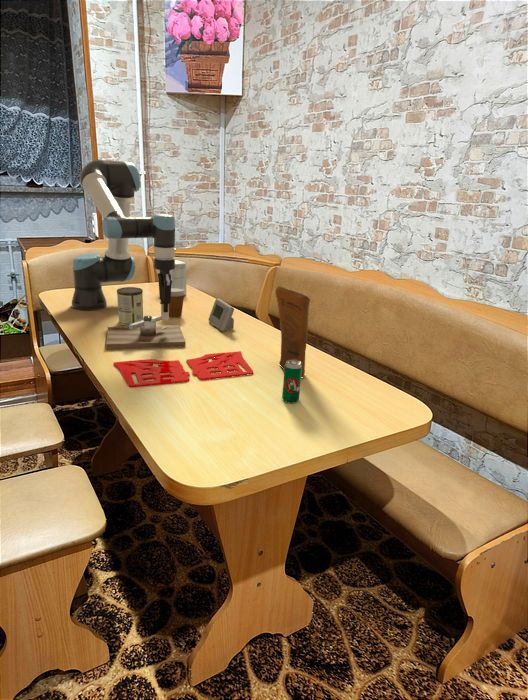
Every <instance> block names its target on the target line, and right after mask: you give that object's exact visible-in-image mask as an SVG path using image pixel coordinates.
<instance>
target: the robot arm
mask: <svg viewBox="0 0 528 700" xmlns="http://www.w3.org/2000/svg"><path fill="white" fill-rule="evenodd" d="M79 179H80V180H79V182H80V185H81V187H82V189H83V190H84V192H85V193H86V194H88V195H89V196H90V198H91V199H92V201H93V203H94V205H95V206H96V208H97V210H98V212H99V214H100V216H101V217H102V221H101V222H102V224H101V227H102V228H101V230H102V232H103V236H104V237H106V238H107V239H108V242H107V243H108V247H107V249H106V250H105V251H104V256H101V255H100V254H99V253H84V254H81V255H77V256H75V257H74V258H73V259H72V271H73V272H72V273H73V282H74V283H73V285H74V291H73V296H72V299H71V307H72V309H76V310H78V311H79V310H80V311H95V310H101V309H104V308H106V307H107V305H108V304H107V299H106V297H105V294H104V292H103V289H102V285H103V284H104V283H119V282H120V283H123V282H127V281H131V280H132V279H133V278H134V276H135V273H136V261H135V259H134V256H133V255H132V254H131V252H130V251H129V240H130V239H153V257H154V259H153V261H154V263H153V267H154V269H155V270H158V271H159V272H158V273H157V278H158V293H159V297H158V298H159V300H160V303H159V304H160V314H161V320H160V321H169V320H170V317H169V303H170V302H171V301H170V300H171V285H172V280H171V274H170V272H169V271H170V270H173V269H175V260H176V259H175V257H176V253H175V252H177V249H176V220H175V215H172V214H166V213H158V214H157V213H156V214H155V215H146V216H136V217H135V216H131V200H132V199H134V197H135V193H136V192H138V191H139V190H140V189H141V178H140V173H139V170H138V168H137V166H136V165H135V164H134V163H133V162H131V161H129V162H128V161H125V160H107V159H106V160H104V159H96V160H92V161H89V162H88V163H87V164H85V165H84V167H83V168H82V170H81V171H80V175H79Z"/></svg>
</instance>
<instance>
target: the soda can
mask: <svg viewBox="0 0 528 700" xmlns="http://www.w3.org/2000/svg"><path fill="white" fill-rule="evenodd" d="M301 373H302V365H301V362H300V361H297V360H288V361H286V364H285V367H284V369H283V380H282V381H283V382H282V391H281V392H282V394H281V399H282V400H283V402H285V401H287V402H286V403H288V402H295V403H297V402H298V401H300V392H301V382H302V378H301Z"/></svg>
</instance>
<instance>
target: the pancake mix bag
mask: <svg viewBox="0 0 528 700" xmlns="http://www.w3.org/2000/svg"><path fill="white" fill-rule="evenodd" d="M275 298H276V302H277V309H278V317H279V326H280V327H279V328H280V338H281V341H280V342H281V344H280V358H279V359H280V360H279V364H280V365H281V366H282V367H283V368H284V367H285V364H286V361H288V360H297V361H300V362H301V365H302V373H301V377H304V378H305V375H304V374H306V368H305V367H306V350H307V344H308V343H307V342H308V329H309V315H310V303H311V298H309V296H307V295H305V294H303V293H301V292H298V291H295V290H292V289H288V288H285V287H282V286H280V285H278V286H276V287H275ZM279 364H278V365H279ZM282 367H281V368H282ZM283 368H282V369H283Z"/></svg>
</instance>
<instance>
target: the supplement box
mask: <svg viewBox="0 0 528 700" xmlns="http://www.w3.org/2000/svg"><path fill="white" fill-rule="evenodd" d="M169 272H170V274H171V280H172V285H171V287H178V288H183V289H184V291H185V295H184V296H186V295H187V263H186V262H184V261H181V260H177V259H175V269H173V270H170V271H169Z"/></svg>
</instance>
